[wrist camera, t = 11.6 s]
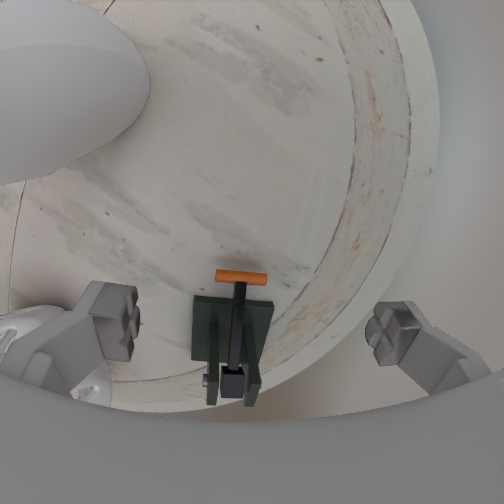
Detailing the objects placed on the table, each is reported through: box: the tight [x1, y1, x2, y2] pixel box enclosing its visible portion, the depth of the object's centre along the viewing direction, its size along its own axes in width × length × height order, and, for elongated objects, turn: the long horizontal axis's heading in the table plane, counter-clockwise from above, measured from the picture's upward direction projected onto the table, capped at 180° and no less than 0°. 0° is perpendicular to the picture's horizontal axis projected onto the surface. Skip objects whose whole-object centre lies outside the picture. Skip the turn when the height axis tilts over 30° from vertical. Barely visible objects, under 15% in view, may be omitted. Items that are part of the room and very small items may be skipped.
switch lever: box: [215, 269, 267, 398], centre depth 27 cm, size 13×5×2 cm
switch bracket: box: [191, 296, 274, 407], centre depth 30 cm, size 10×9×10 cm
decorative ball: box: [0, 305, 112, 407], centre depth 25 cm, size 20×20×17 cm
